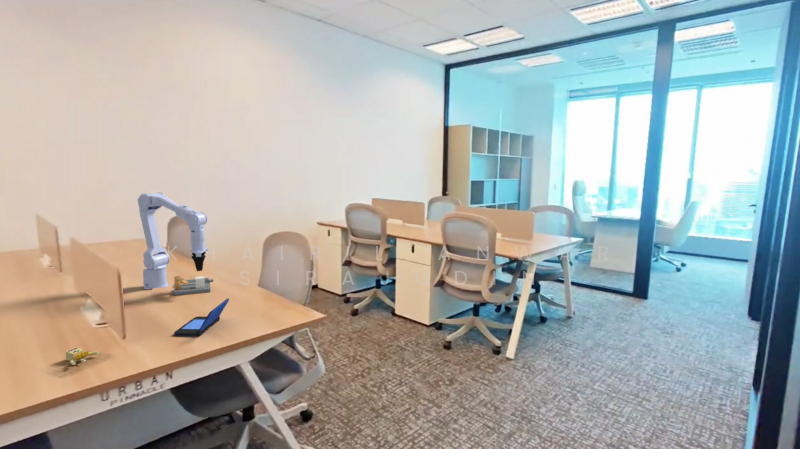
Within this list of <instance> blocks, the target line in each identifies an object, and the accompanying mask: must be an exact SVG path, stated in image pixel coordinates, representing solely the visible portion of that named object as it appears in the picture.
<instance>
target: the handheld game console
mask: <svg viewBox="0 0 800 449" xmlns="http://www.w3.org/2000/svg"><path fill="white" fill-rule="evenodd" d="M229 301H230V298H226V299H225V300H224V301H222V302H221V303H219V304H218V305H216V306H215V307H214V308H213V309H212V310H210V311H209V313H208V314H207V315H206V316H195V317H193V318H192V319H190V320H189V321H188V322H186V323H184V325H182V326H181V327H178V329H176V330H175V331H174V332H173V335H174V336H175V337H196V338H197V337H198V338H199V337H201V336H202V335H203V334H205V333H206V332H207V331H208V330H209V328H211V327H213V326H214V325H216V324H217V323H218V322H219V321H220V319H221V318H220V316H221V315H222V313H223V311H224V309H225V308H226V306H227V304H228V302H229Z"/></svg>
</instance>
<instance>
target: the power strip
mask: <svg viewBox="0 0 800 449" xmlns="http://www.w3.org/2000/svg"><path fill="white" fill-rule="evenodd" d="M206 293H211V283H210V284H205V288H197V289H196V285H190V286H181V289H180V290H175V288H174V290H173V296H174V297H176V296H177V297H178V296H184V295H185V296H187V295H195V294H206Z"/></svg>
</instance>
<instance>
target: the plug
mask: <svg viewBox="0 0 800 449" xmlns="http://www.w3.org/2000/svg"><path fill="white" fill-rule="evenodd" d="M204 278H205V276H203V275H201V276H195V279H196V289H197V288H205V283H209V282H210V283H213V282H214V279H213V278H211V279H208V280H204Z"/></svg>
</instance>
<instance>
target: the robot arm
mask: <svg viewBox="0 0 800 449" xmlns="http://www.w3.org/2000/svg"><path fill="white" fill-rule="evenodd" d="M137 204H138V209H139V216H140V221H141V225H142V230H143V233H144V238H145V239H144V240H145V243H146V247H147V249H146V250H145V251H144V253H143V265H144V267H145V268H144V269H143V270H142V271H143V272H142V275H143V276H142V277H143V290H153V289H156V288H157V289H160V288H167V287H169V282H168V279H167V276H168V274H167V268H168V264H169V263H170V260H171V259H170V258H171V257H170V255H169V254H168V252H167V249H166V248H165V247H162V245H161V240H160V236H159V232H158V226H157V222H156V218H155V213H156V212H157V211H158V210H159V209H160V208H162V207H164V208H166V209H168V210H170V211H172V212H175V215H176V216H175V217H178V218H180V219H182V220H183V221H185V222H186V224H187V225H188V229H189V231H190V245H191V246H190V247H191V249H190V252H191V254H192V255H191V259H192V261H193V263H194V265H195V270H196V272H201V271H203V268H204V261H205V258H206V252H207V251H209V248H206V233H205V229H206V228H205V225H206V224H207V222H208V217H207V215H206V214H205V213H204V212H197V210H195V209H192V208H190V207H189V205H187V204H181V205H180V204H178V203H177V202H175V201H174V200H172V199H170V198H169V197H167V195H166V194H164V193H162V192H154V193H150V192H149V193H141V194H140V195H139V197H138V198H137Z"/></svg>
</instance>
